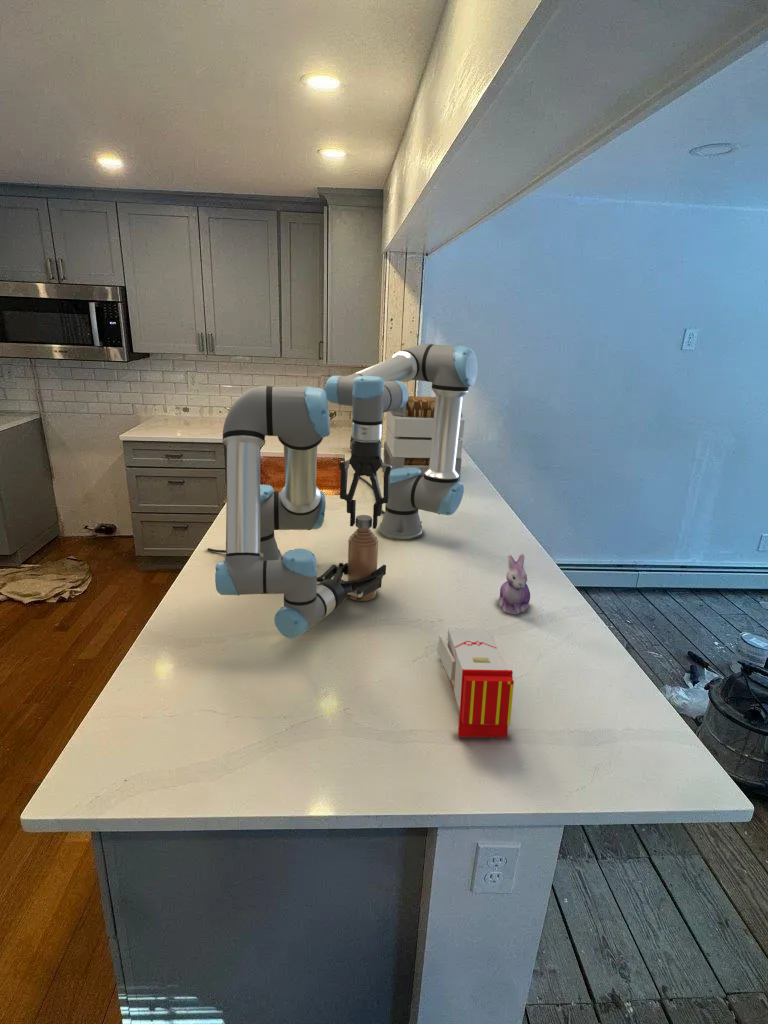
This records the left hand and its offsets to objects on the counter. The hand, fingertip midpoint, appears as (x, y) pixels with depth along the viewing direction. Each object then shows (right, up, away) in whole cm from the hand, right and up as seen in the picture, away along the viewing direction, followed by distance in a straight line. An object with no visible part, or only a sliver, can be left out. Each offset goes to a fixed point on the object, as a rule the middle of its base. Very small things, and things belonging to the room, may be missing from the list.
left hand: (371, 565), depth 159 cm
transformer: (+21, +34, +116) cm, 123 cm away
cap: (-2, +13, -9) cm, 16 cm away
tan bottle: (-3, -8, -2) cm, 8 cm away
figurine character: (-12, +49, +154) cm, 162 cm away
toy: (+22, -23, -40) cm, 51 cm away
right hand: (-2, +11, -9) cm, 14 cm away
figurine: (+39, -11, -5) cm, 41 cm away
